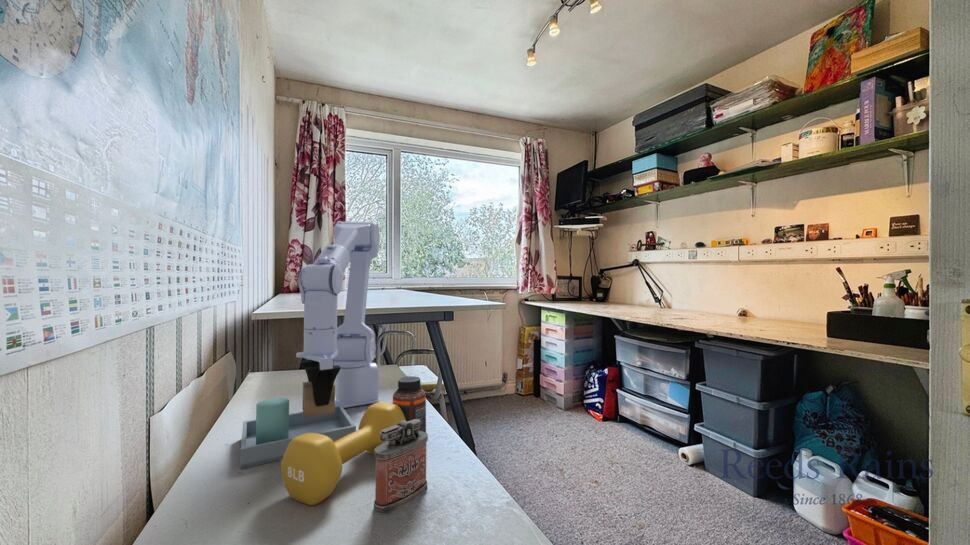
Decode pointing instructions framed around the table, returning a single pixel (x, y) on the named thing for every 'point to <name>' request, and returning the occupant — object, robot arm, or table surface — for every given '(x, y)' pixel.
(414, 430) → the lighter
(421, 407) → the supplement bottle
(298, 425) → the tote
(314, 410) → the cube
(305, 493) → the dumbbell
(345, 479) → the table surface
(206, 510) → the table surface
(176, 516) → the table surface
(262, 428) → the teal cylinder
